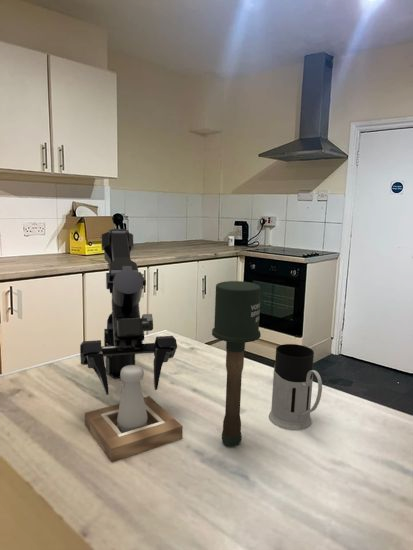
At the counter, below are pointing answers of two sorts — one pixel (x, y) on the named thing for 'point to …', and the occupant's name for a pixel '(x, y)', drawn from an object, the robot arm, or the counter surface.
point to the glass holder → (293, 387)
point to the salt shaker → (131, 400)
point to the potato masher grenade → (235, 344)
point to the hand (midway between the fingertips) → (132, 391)
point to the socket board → (136, 440)
